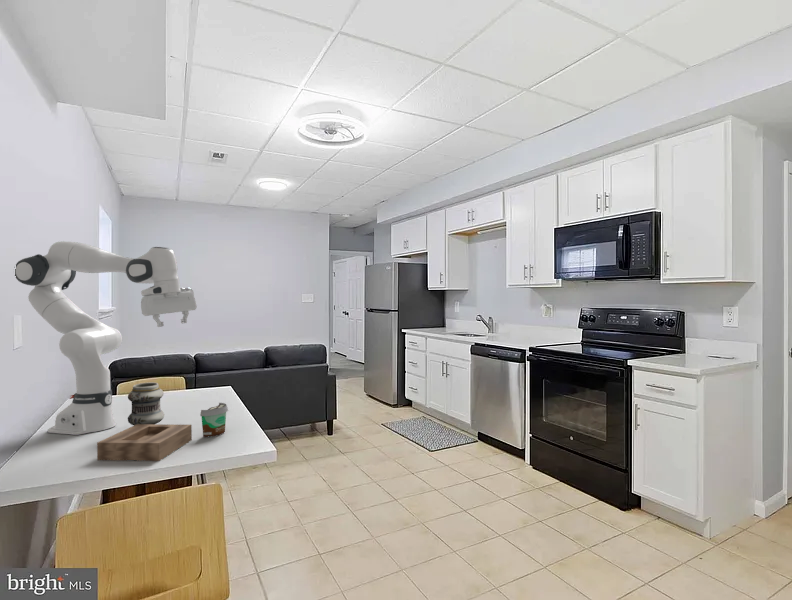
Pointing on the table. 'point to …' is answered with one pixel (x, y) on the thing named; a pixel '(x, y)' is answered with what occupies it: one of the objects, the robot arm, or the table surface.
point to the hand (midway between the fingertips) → (172, 325)
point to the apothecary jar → (145, 404)
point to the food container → (214, 420)
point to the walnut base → (144, 442)
